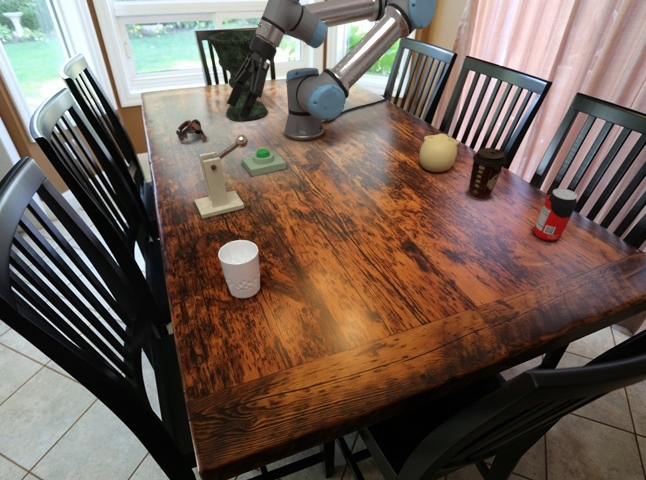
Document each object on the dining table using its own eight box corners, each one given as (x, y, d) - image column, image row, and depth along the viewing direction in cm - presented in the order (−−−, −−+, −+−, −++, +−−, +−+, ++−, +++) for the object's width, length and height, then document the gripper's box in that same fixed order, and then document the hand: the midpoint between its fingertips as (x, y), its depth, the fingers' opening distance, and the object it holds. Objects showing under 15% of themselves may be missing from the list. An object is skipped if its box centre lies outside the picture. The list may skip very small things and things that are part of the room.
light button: (266, 152, 127) (266, 147, 126) (270, 157, 124) (270, 152, 123) (255, 154, 126) (254, 149, 125) (259, 159, 123) (258, 154, 122)
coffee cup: (494, 190, 114) (508, 148, 105) (494, 204, 108) (509, 161, 99) (464, 186, 116) (475, 144, 107) (462, 199, 110) (474, 156, 101)
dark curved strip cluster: (205, 146, 141) (189, 129, 135) (186, 155, 145) (170, 139, 140) (212, 126, 148) (197, 109, 142) (194, 135, 152) (179, 119, 146)
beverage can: (557, 246, 93) (579, 203, 85) (529, 238, 95) (548, 196, 88) (560, 233, 97) (581, 191, 89) (534, 225, 99) (551, 184, 92)
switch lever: (247, 140, 102) (241, 130, 100) (251, 144, 100) (245, 134, 98) (208, 168, 102) (201, 159, 100) (211, 173, 100) (204, 163, 98)
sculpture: (455, 163, 128) (463, 131, 121) (449, 178, 119) (456, 145, 112) (422, 157, 131) (427, 126, 124) (413, 172, 123) (418, 139, 116)
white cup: (228, 276, 85) (220, 240, 79) (263, 274, 86) (258, 238, 79) (224, 301, 79) (215, 265, 73) (262, 299, 80) (257, 262, 73)
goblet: (282, 111, 169) (277, 33, 150) (249, 126, 155) (238, 42, 135) (245, 102, 178) (235, 28, 159) (210, 117, 164) (195, 37, 144)
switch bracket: (235, 193, 113) (227, 146, 104) (244, 208, 107) (236, 158, 98) (195, 203, 109) (182, 154, 100) (202, 218, 103) (189, 168, 94)
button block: (275, 157, 133) (274, 146, 130) (286, 168, 126) (285, 157, 123) (242, 164, 129) (240, 152, 126) (251, 176, 122) (250, 164, 119)
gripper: (242, 29, 117) (215, 95, 125) (269, 40, 100) (237, 116, 107) (263, 43, 122) (236, 105, 129) (292, 55, 104) (260, 127, 112)
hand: (236, 110), depth 118 cm, fingers open, 13 cm apart
